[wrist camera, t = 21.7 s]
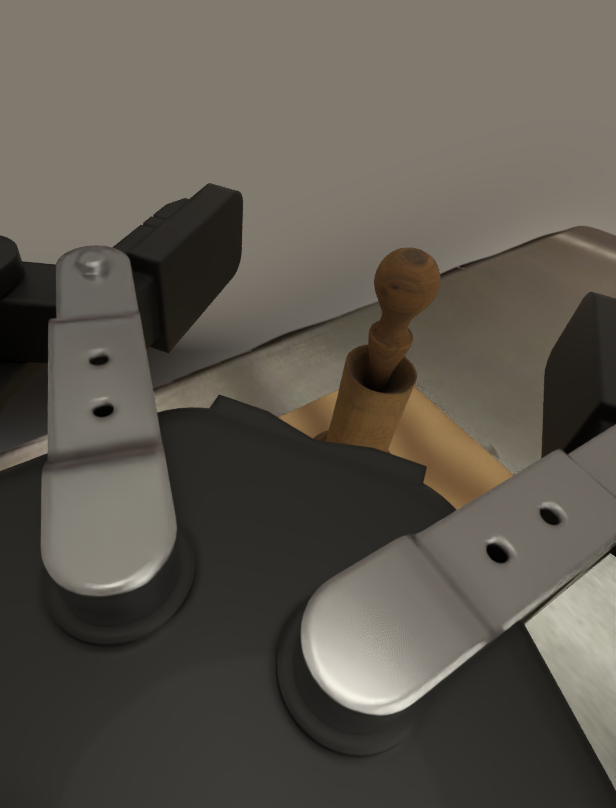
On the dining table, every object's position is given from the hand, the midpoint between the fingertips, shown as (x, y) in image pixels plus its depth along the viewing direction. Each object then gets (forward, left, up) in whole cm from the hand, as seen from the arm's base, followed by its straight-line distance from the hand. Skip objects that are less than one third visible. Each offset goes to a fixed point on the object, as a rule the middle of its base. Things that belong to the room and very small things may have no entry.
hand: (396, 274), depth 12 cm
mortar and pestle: (-5, -9, -24) cm, 26 cm away
